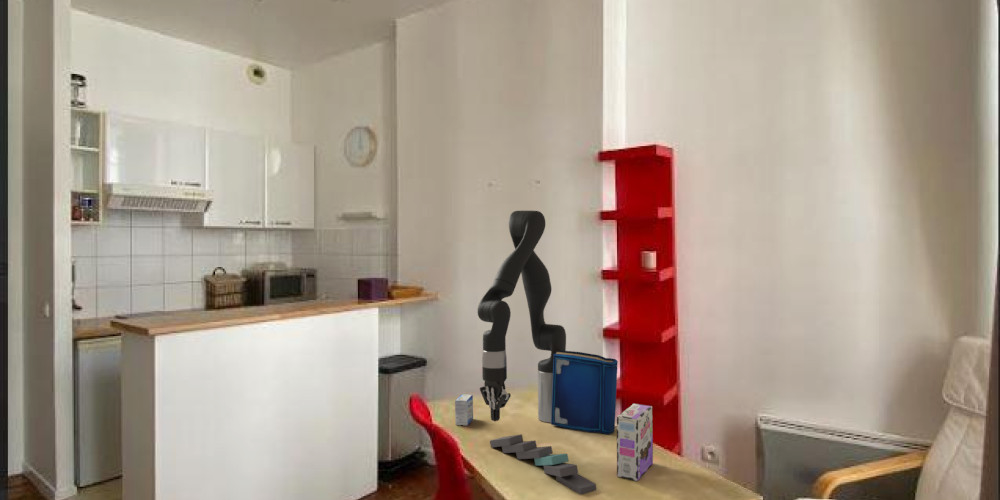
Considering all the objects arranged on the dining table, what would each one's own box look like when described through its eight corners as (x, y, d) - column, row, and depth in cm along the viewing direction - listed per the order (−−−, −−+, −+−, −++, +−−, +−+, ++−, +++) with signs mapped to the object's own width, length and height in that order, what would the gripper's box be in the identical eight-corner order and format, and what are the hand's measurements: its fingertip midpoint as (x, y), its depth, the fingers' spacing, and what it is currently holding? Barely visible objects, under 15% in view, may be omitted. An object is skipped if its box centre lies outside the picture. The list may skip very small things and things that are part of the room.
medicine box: (467, 426, 191) (467, 400, 191) (455, 425, 192) (454, 400, 192) (473, 418, 199) (473, 394, 198) (461, 418, 199) (460, 394, 199)
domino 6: (571, 470, 150) (596, 484, 141) (571, 477, 150) (596, 492, 141) (556, 474, 147) (580, 488, 139) (556, 481, 147) (580, 496, 139)
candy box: (637, 482, 146) (637, 419, 145) (616, 477, 149) (615, 415, 148) (653, 463, 157) (653, 405, 157) (633, 459, 160) (632, 402, 160)
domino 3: (528, 448, 165) (551, 446, 158) (530, 455, 164) (552, 453, 157) (515, 452, 162) (538, 450, 154) (517, 459, 161) (539, 457, 154)
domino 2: (514, 442, 170) (535, 440, 162) (516, 449, 169) (536, 447, 162) (501, 446, 167) (522, 444, 159) (503, 453, 166) (523, 451, 159)
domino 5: (559, 461, 154) (576, 464, 145) (561, 469, 153) (578, 473, 144) (543, 465, 152) (559, 468, 143) (544, 473, 152) (560, 477, 142)
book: (619, 430, 186) (620, 355, 185) (613, 437, 179) (614, 360, 178) (557, 420, 195) (558, 349, 194) (550, 426, 189) (550, 353, 188)
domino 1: (502, 437, 174) (521, 434, 167) (504, 443, 174) (523, 441, 166) (489, 440, 171) (508, 438, 164) (491, 447, 171) (510, 445, 163)
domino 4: (549, 454, 160) (567, 453, 151) (550, 462, 159) (568, 461, 150) (534, 458, 157) (551, 456, 149) (535, 465, 157) (552, 464, 148)
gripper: (517, 366, 170) (518, 423, 171) (490, 359, 181) (491, 412, 181) (498, 370, 166) (499, 428, 166) (472, 362, 176) (472, 417, 176)
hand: (495, 420), depth 173 cm, fingers closed
